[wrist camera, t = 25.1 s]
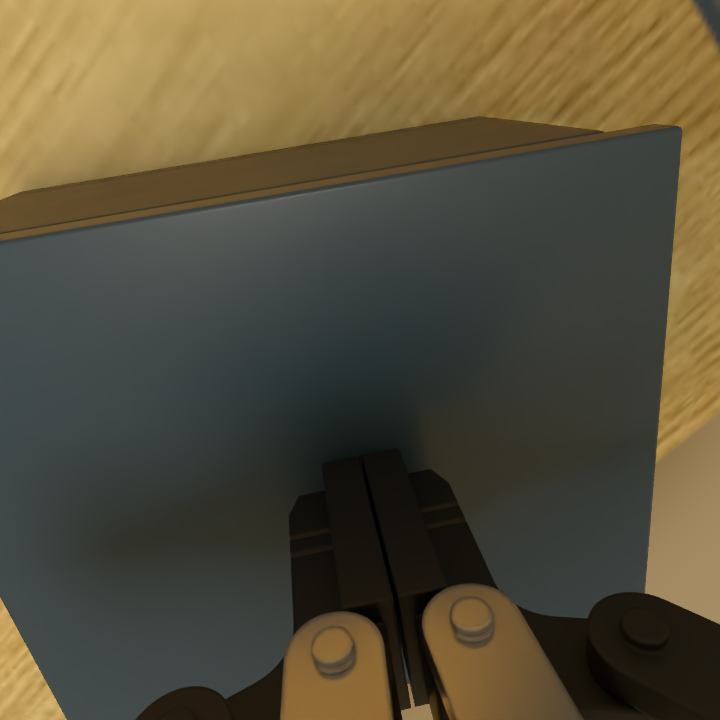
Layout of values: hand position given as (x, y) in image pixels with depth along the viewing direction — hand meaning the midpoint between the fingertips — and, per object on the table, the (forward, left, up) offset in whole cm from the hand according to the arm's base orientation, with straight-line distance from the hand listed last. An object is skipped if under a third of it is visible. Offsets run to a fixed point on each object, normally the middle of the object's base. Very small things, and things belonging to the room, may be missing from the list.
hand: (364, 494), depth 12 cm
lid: (+1, 0, -1) cm, 1 cm away
